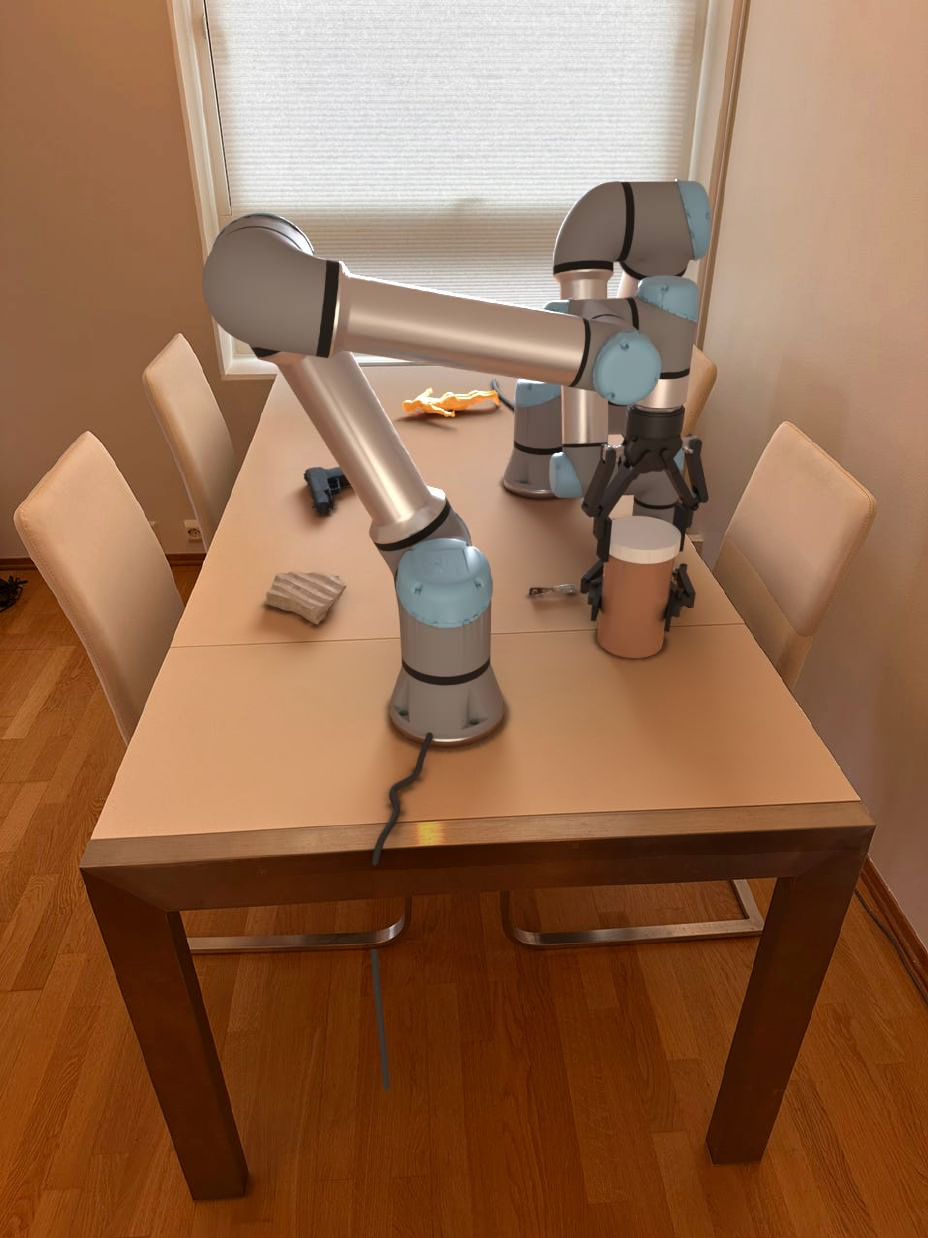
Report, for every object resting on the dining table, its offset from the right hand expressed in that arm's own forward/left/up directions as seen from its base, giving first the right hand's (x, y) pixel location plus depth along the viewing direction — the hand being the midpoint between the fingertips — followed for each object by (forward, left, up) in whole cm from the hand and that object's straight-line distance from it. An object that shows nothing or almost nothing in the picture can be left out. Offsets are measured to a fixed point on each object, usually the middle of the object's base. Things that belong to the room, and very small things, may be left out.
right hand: (630, 618), depth 129 cm
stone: (-23, -47, -6) cm, 53 cm away
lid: (-4, +2, +12) cm, 12 cm away
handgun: (-65, -40, -6) cm, 77 cm away
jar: (-4, +2, -6) cm, 8 cm away
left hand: (-4, +2, +9) cm, 10 cm away
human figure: (-113, -10, -6) cm, 114 cm away
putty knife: (-19, -7, -6) cm, 21 cm away
